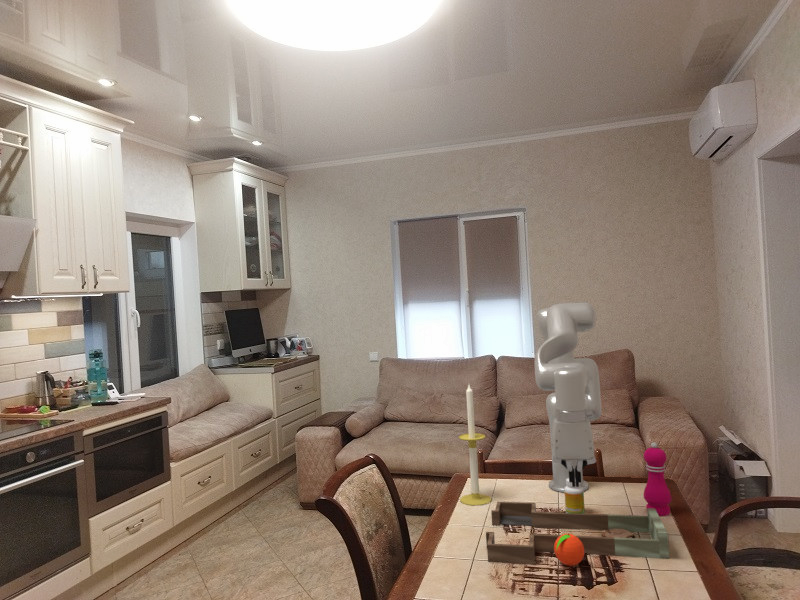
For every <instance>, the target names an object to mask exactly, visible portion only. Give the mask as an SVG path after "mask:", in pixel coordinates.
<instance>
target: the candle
mask: <svg viewBox="0 0 800 600" xmlns="http://www.w3.org/2000/svg"><path fill="white" fill-rule="evenodd" d="M465 395H466V413H467V414H466V415H467V428H468V430H467V431H468V433H463V434H461V435H459V436H458V439H459V440H461V441H467V443H468V454H469V474H470V475H469V476H470V491H471V494H465V495H464V496H462V497H460V498H459V501H460V503H462V504H463V505H465V506H471V507H474V506H475V505H480V506H484V505H483V504H485V505H488V504H490V503H491V502H492V498H491V497H490V496H489V495H487V494H482V493H480V484H479V482H480V480H479V468H478V467H479V466H478V464H479V463H478V450H477V449H478V448H477V446H478V445H477V441H481V440H484V439H485V438H486V435H485V434H483V433H477V432H476V427H475V426H476V424H475V423H476V422H475V410H474V409H475V407H474V391H473V389H472V388H471V385H470V384H468V386H467V388H466V391H465ZM489 502H490V503H489ZM487 503H488V504H487Z"/></svg>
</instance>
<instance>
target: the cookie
mask: <svg viewBox="0 0 800 600" xmlns="http://www.w3.org/2000/svg"><path fill="white" fill-rule="evenodd" d="M601 537H616V538H638V539H641V538H640V537H636V535H635V534H634V532H630V531H628V530H625V529H616V528H615V529H609V530H606V531H602V533H601Z"/></svg>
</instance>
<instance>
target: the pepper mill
mask: <svg viewBox="0 0 800 600" xmlns="http://www.w3.org/2000/svg"><path fill="white" fill-rule="evenodd" d="M643 459H644V461H645V462H646V464H645V466H646V468H645V469H646V471H647V475H648V478H647V481H646V485H645V487H644V490H643V498H644V501H645V502H646V505H645V509H646V512H647V508H655V510H656V511H657V513H658V515H659V517H667V516H669V515H670V514H671V507H670V503H671V502H672V495H671V491H670V489H669V487H668V485H667V482H666V480H665V471H666V465H665V463H666V462H667V454H666V452H665V450H663V449H661V448H659V447H658V443H657V442H655V441H653V442H651V444H650V447H648V448H647V449H645V451H644V452H643Z"/></svg>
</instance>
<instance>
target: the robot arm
mask: <svg viewBox="0 0 800 600" xmlns="http://www.w3.org/2000/svg"><path fill="white" fill-rule="evenodd" d="M536 320H537V327H538V330H539V332H540V334H541V336H542V338H543V340H544V342H543V343H542V344H541V345H540V347H539V348H538V350H537V351H536V352H535V355H534V364H533V365H534V378H535V379H534V380H535V383H536V386H537V387H538V389H540V390H542V391H544V392H545V391H547V392H549V391H550V392H551V391H553V392H552V393H550V394H548V395H547V397H546V399H545V400H546V401H545V407H546V412H547V417H548V423H549V431H550V448H551V460H552V461H551V464H552V479H551V480H550V481H549V482H548V487H549V488H550V490H553V491H555V492H560V493H564V488H565V487H566V486H567V484H566V479H567V478H569V482H572V486H573V487H575V483H576V486H577V487H579V482H580V484H581V485H580V486H581V487H582V488H583V492H584V491H588V489H589V483H588V482H587V481H586V480H584V476H583V475H584V474H583V469H584V468H586V466H587V465H592V464H596V457H595V446H594V444H595V443H594V436H593V429H592V424H591V421H596V420H598V419H600V418H601V416H602V410H603V409H602V399H601V385H600V384H601V383H600V374H599V368H598V364H597V362H596V361H595V360H594V359H592V358H589V357H580V358H579V357H577V358H575V356H574V350H575V349H576V348H577V346H578V345H579V337H578V336H579V335H578V333H582V332H583V333H585V332H586V333H587V332H591V331H592V330H593V329H594V328H595V326H596V322H597V315H596V311H595V308H594V306H593V305H592V304H591V303H590V302H585V301H584V302H566V303H565V302H561V303H560V302H559V303H556V304H553V305H551V306H550V307H546V308H545V307H544V308H542V309H540V310H538V312H537V314H536Z"/></svg>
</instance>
